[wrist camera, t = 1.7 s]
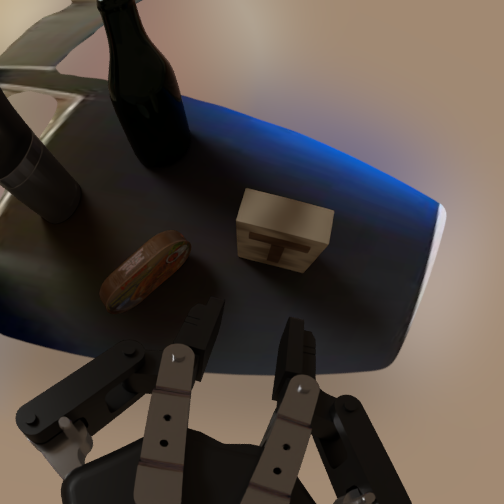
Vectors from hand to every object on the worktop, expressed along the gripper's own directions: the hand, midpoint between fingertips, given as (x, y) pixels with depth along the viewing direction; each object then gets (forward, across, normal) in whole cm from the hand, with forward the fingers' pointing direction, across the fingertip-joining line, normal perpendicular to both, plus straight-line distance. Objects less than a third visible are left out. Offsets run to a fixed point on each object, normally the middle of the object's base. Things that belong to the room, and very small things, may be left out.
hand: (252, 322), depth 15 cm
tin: (+23, +16, +17) cm, 33 cm away
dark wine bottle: (+39, +22, +1) cm, 45 cm away
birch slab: (+29, -1, +11) cm, 31 cm away
